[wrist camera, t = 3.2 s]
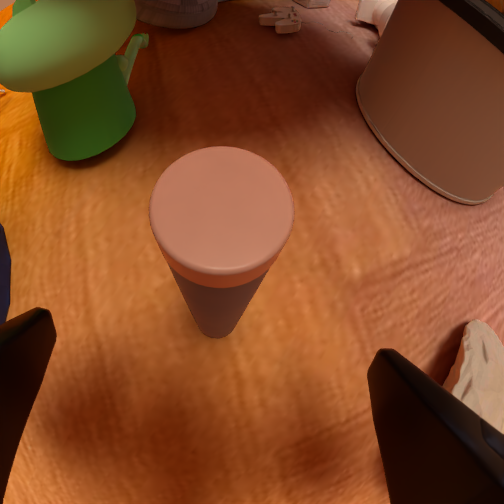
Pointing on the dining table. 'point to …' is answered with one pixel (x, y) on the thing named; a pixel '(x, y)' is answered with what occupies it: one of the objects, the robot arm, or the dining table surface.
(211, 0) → the flying saucer
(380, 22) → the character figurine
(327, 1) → the ink box
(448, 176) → the container
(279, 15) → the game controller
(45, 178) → the dining table surface
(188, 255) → the capped glue stick
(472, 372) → the stone
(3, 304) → the lantern
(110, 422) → the dining table surface
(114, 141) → the toy character
